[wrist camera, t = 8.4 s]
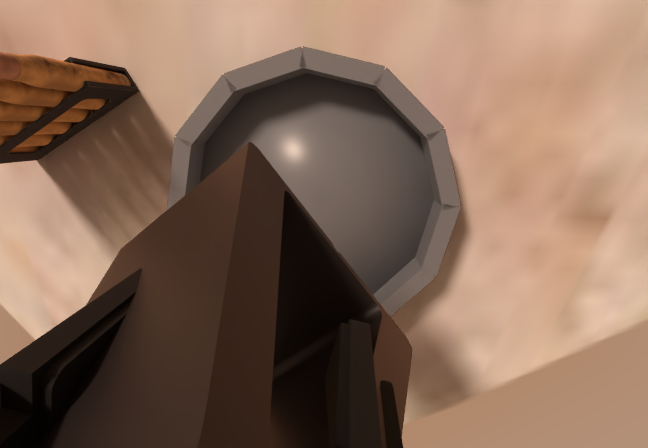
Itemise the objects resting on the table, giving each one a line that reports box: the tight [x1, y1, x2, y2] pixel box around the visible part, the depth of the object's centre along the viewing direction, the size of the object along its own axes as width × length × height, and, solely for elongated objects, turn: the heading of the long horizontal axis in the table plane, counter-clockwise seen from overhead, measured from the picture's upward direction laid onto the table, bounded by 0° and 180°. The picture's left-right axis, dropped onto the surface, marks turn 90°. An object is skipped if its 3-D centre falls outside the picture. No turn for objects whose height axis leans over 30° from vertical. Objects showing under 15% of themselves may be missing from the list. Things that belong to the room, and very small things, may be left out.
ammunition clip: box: [0, 53, 138, 164], centre depth 21 cm, size 11×2×12 cm, turn 119°
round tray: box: [167, 46, 461, 316], centre depth 26 cm, size 20×20×3 cm
